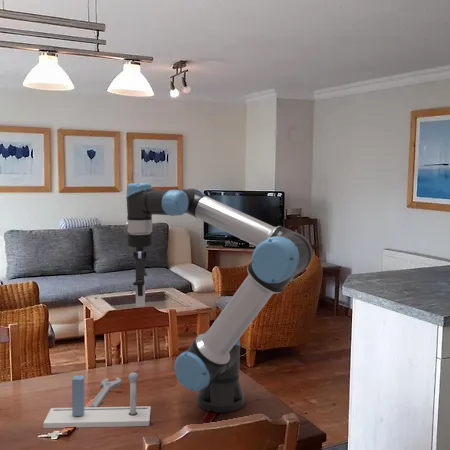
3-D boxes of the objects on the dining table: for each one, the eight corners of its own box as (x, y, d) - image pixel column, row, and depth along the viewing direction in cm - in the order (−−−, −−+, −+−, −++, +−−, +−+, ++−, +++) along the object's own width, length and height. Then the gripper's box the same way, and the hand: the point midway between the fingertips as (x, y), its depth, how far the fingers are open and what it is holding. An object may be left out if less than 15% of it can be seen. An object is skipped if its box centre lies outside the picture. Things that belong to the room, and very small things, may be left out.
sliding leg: (84, 411, 165) (84, 375, 164) (82, 415, 162) (82, 379, 161) (74, 411, 165) (74, 375, 164) (72, 415, 162) (72, 379, 161)
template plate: (150, 410, 170) (151, 366, 169) (149, 425, 161) (149, 378, 159) (51, 412, 168) (50, 367, 166) (43, 428, 158) (42, 380, 156)
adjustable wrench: (94, 413, 169) (94, 408, 169) (75, 412, 170) (74, 406, 170) (123, 382, 194) (123, 377, 193) (105, 381, 195) (105, 376, 194)
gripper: (128, 229, 182) (130, 293, 184) (125, 238, 157) (126, 311, 159) (151, 229, 183) (152, 292, 185) (152, 237, 158) (153, 310, 160)
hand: (140, 301), depth 172 cm, fingers open, 13 cm apart
